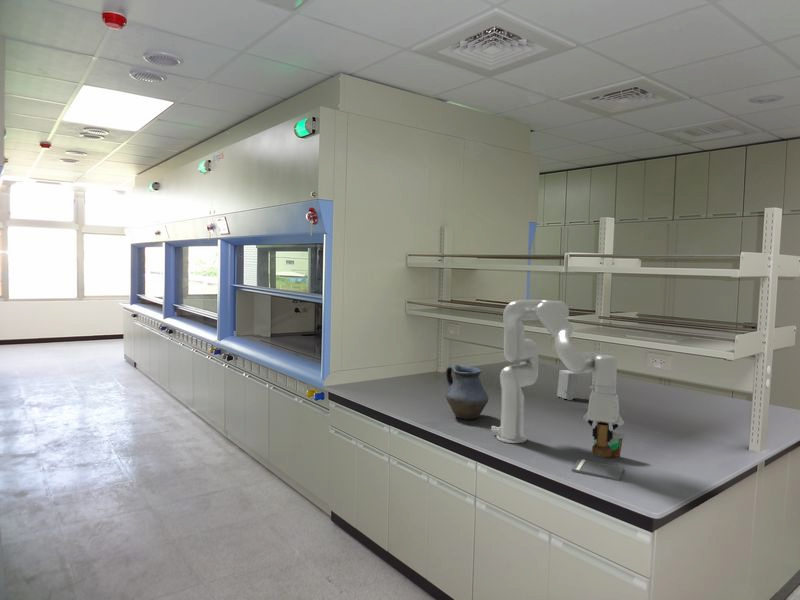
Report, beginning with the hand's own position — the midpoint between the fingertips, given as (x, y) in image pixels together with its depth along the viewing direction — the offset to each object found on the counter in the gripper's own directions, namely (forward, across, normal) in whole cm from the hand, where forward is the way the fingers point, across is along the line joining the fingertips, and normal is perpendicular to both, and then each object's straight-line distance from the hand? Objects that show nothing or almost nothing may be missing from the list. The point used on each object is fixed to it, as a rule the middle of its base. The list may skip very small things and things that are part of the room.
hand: (602, 439), depth 194 cm
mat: (+12, -1, 0) cm, 12 cm away
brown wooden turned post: (+5, 0, 0) cm, 5 cm away
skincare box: (+12, -35, +107) cm, 113 cm away
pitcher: (+12, -69, +39) cm, 80 cm away
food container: (+12, -1, +18) cm, 22 cm away
